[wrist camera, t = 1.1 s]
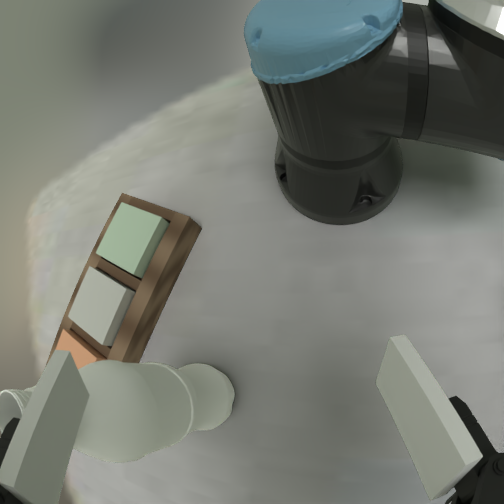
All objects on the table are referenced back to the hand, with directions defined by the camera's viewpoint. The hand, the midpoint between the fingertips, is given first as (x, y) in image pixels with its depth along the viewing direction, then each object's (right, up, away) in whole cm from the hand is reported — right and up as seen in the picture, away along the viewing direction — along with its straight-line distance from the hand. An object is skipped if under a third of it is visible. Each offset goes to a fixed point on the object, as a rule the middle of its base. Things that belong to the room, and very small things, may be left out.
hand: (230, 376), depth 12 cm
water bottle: (-4, -11, +21) cm, 24 cm away
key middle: (-17, -2, +25) cm, 31 cm away
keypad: (-16, -3, +27) cm, 32 cm away
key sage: (-13, +6, +27) cm, 31 cm away
